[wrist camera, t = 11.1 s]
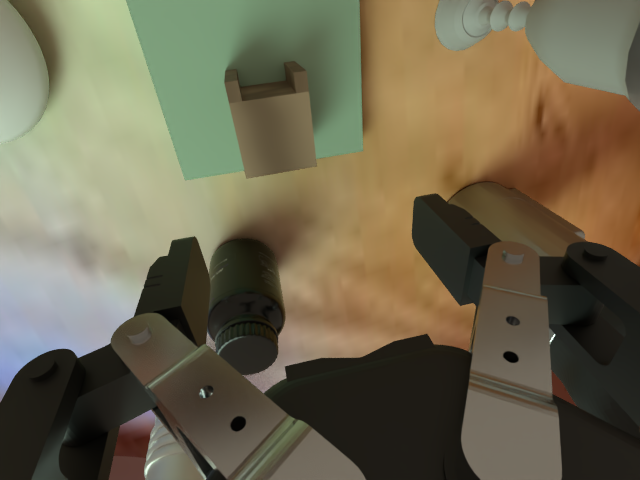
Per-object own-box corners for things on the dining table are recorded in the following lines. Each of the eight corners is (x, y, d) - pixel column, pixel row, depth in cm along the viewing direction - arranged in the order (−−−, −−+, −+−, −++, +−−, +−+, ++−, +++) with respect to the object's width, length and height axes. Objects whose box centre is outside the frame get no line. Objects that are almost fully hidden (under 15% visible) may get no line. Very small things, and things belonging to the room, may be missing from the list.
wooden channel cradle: (294, 60, 26) (306, 70, 22) (304, 144, 29) (316, 166, 25) (225, 70, 25) (224, 82, 21) (244, 154, 29) (246, 178, 25)
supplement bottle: (203, 240, 35) (193, 331, 25) (273, 232, 36) (290, 316, 26) (215, 293, 38) (210, 391, 29) (278, 284, 40) (294, 375, 30)
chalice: (454, -60, 26) (751, -152, 11) (521, -19, 28) (839, -49, 14) (408, 47, 29) (590, 87, 14) (472, 76, 32) (684, 135, 17)
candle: (148, 383, 44) (116, 529, 31) (204, 366, 44) (194, 505, 32) (171, 412, 48) (151, 553, 35) (222, 397, 48) (220, 531, 36)
